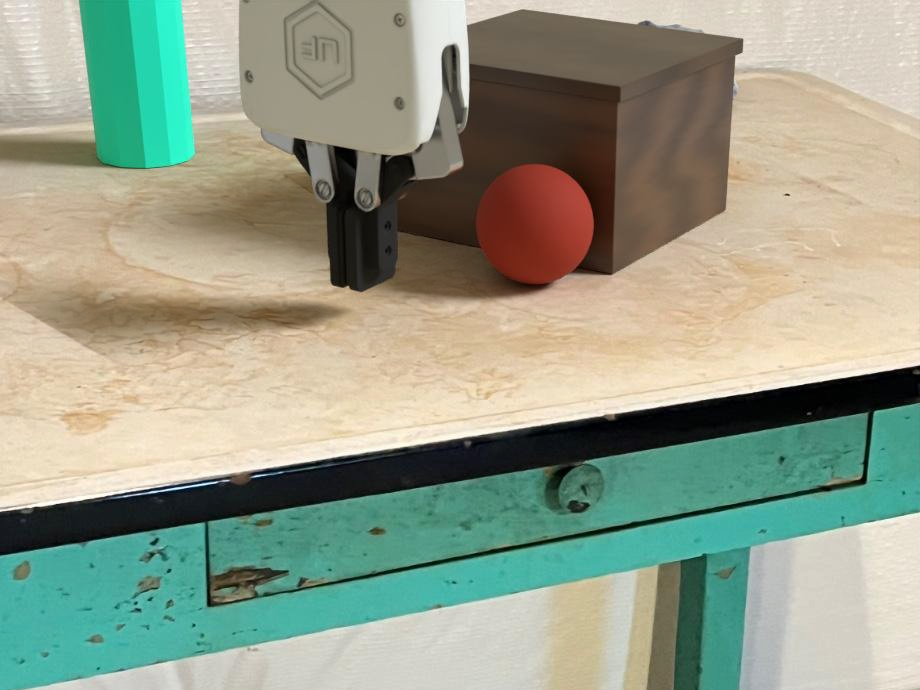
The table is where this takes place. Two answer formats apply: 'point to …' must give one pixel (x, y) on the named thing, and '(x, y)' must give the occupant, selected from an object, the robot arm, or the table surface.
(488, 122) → the box
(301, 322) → the table surface
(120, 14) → the candle
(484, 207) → the ball
